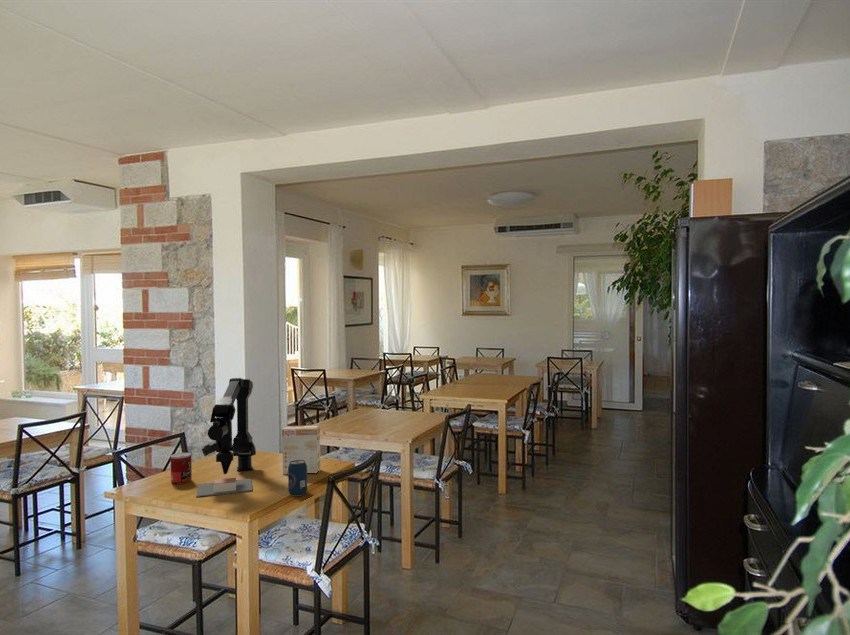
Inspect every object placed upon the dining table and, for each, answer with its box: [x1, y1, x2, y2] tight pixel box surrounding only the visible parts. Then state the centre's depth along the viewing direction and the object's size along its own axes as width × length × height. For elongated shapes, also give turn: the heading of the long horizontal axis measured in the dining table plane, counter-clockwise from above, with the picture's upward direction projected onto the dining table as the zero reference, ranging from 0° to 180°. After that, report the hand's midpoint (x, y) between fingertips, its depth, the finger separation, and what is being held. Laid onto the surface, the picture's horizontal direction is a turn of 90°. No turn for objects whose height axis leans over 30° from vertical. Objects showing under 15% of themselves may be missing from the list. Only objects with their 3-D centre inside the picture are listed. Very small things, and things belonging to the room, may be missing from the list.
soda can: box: [287, 460, 308, 497], centre depth 211 cm, size 7×7×12 cm
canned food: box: [170, 452, 193, 484], centre depth 230 cm, size 8×8×11 cm
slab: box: [213, 477, 237, 493], centre depth 217 cm, size 3×8×7 cm
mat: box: [195, 478, 254, 498], centre depth 219 cm, size 16×20×1 cm
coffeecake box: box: [281, 425, 322, 475], centre depth 241 cm, size 15×7×20 cm, turn 89°
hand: (225, 473), depth 222 cm, fingers closed
